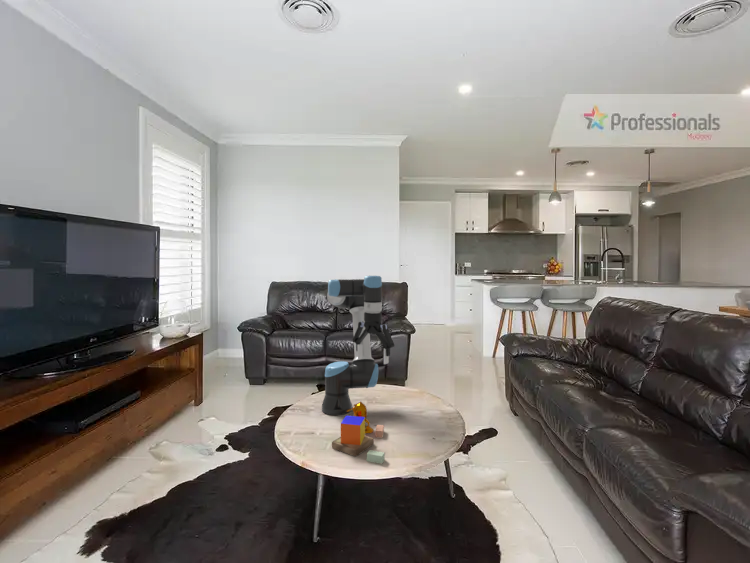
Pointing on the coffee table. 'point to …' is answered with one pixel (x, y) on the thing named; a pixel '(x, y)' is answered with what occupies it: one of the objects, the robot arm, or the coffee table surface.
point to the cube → (352, 430)
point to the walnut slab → (353, 446)
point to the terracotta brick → (379, 431)
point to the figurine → (362, 415)
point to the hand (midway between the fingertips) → (372, 361)
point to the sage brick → (375, 456)
